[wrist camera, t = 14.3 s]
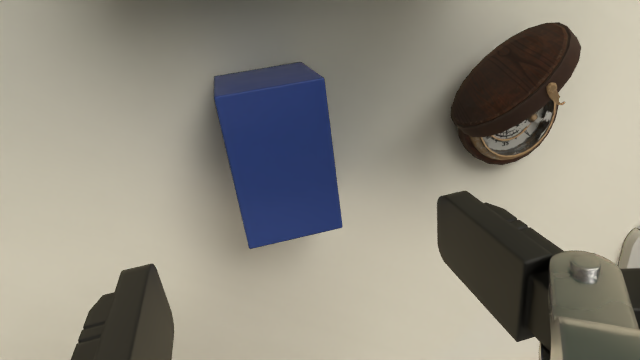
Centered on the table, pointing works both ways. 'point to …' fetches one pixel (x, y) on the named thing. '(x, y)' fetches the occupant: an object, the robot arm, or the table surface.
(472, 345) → the table surface
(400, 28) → the table surface
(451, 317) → the table surface
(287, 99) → the block
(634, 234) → the phone holder
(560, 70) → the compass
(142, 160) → the table surface
